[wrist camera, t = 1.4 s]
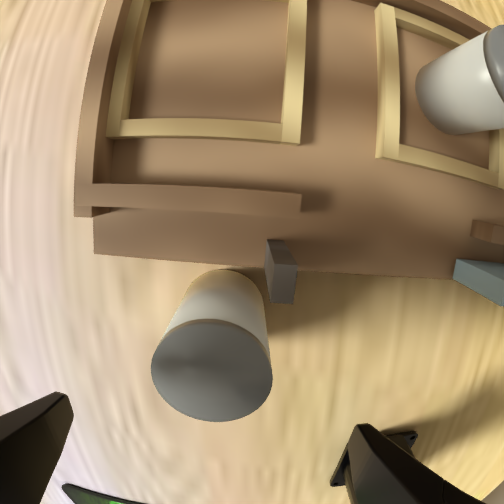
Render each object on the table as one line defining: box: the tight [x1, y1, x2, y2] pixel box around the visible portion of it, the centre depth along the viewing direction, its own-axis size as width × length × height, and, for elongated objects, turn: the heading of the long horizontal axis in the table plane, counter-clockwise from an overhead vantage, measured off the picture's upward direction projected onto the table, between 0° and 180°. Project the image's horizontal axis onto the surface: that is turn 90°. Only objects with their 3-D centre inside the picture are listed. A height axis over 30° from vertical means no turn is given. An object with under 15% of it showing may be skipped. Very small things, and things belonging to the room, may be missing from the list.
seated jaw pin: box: [415, 25, 504, 135], centre depth 10 cm, size 4×4×7 cm
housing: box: [74, 0, 504, 304], centre depth 12 cm, size 16×31×6 cm, turn 85°
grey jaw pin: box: [151, 270, 273, 422], centre depth 13 cm, size 4×4×7 cm
